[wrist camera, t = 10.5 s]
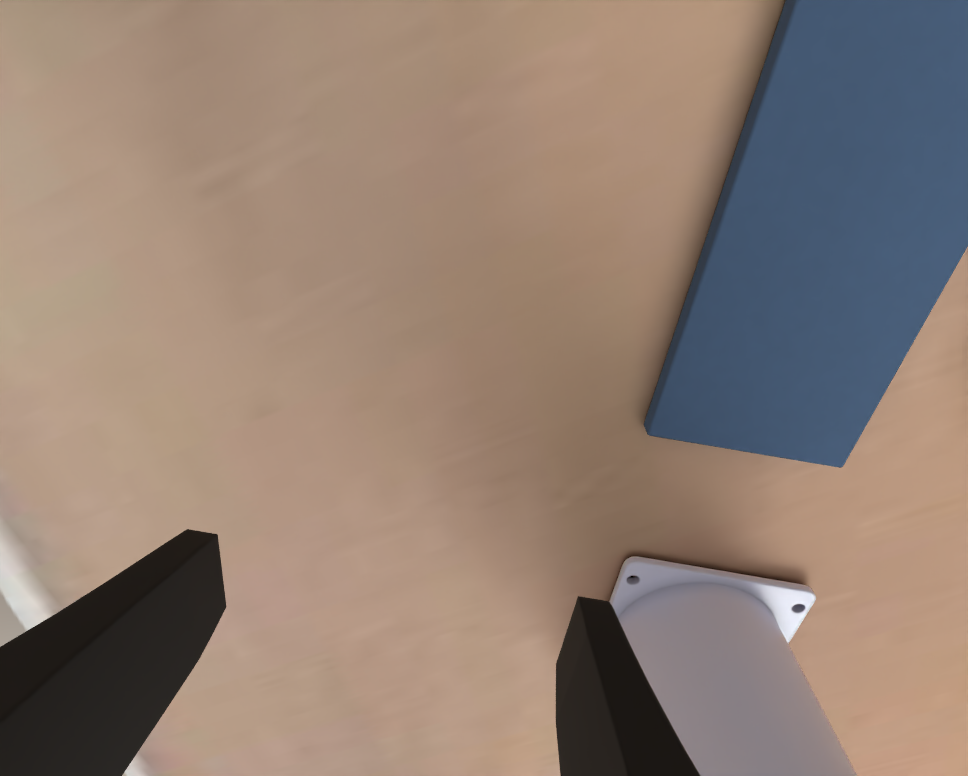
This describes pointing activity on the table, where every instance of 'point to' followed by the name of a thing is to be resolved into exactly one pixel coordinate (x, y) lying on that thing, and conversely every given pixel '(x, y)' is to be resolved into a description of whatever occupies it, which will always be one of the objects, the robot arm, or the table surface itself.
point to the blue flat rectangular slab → (825, 232)
